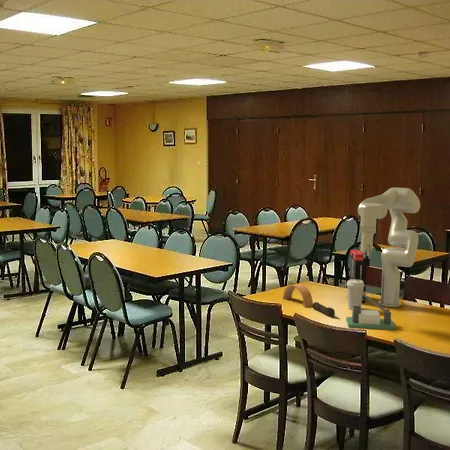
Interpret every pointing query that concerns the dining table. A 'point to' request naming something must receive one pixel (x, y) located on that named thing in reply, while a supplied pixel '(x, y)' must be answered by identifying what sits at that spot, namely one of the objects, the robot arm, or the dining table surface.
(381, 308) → the steel strap
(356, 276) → the graphics card box
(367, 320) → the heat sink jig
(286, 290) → the arch
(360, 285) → the coffee cup
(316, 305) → the hand tool
